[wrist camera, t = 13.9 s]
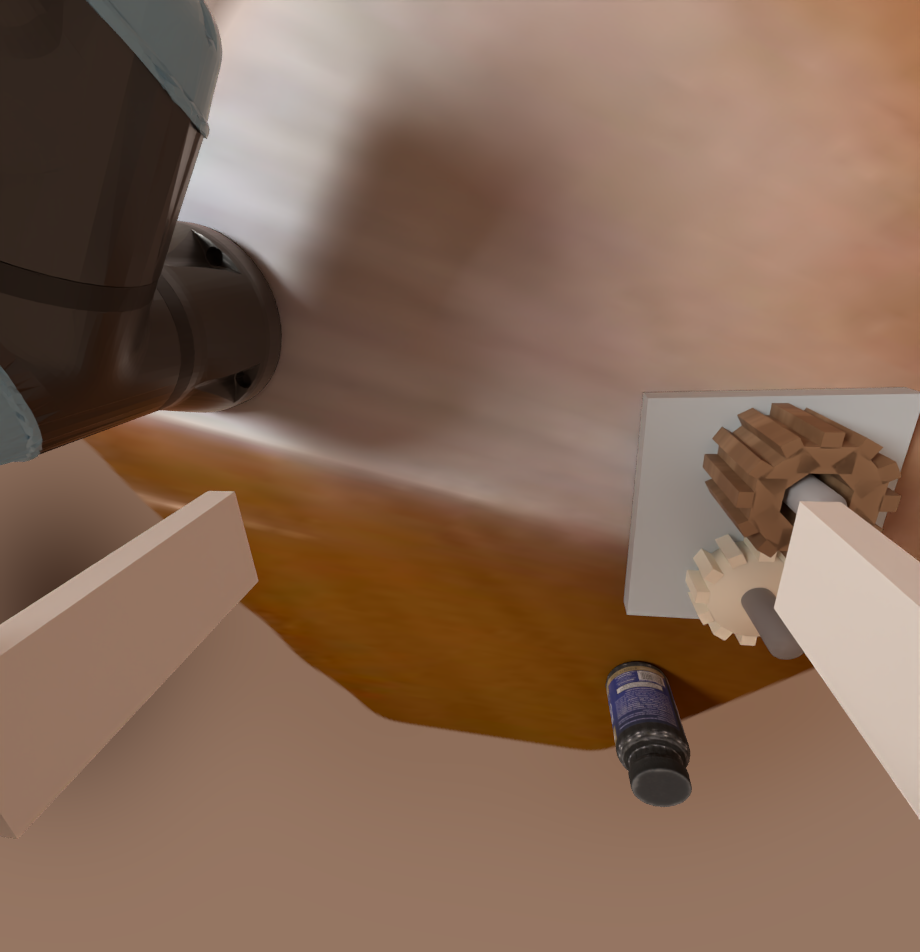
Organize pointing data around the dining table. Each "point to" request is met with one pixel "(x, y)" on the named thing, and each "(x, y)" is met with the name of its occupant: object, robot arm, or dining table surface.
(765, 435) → the walnut gear
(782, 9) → the dining table surface
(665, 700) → the pill bottle
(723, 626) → the gear board
